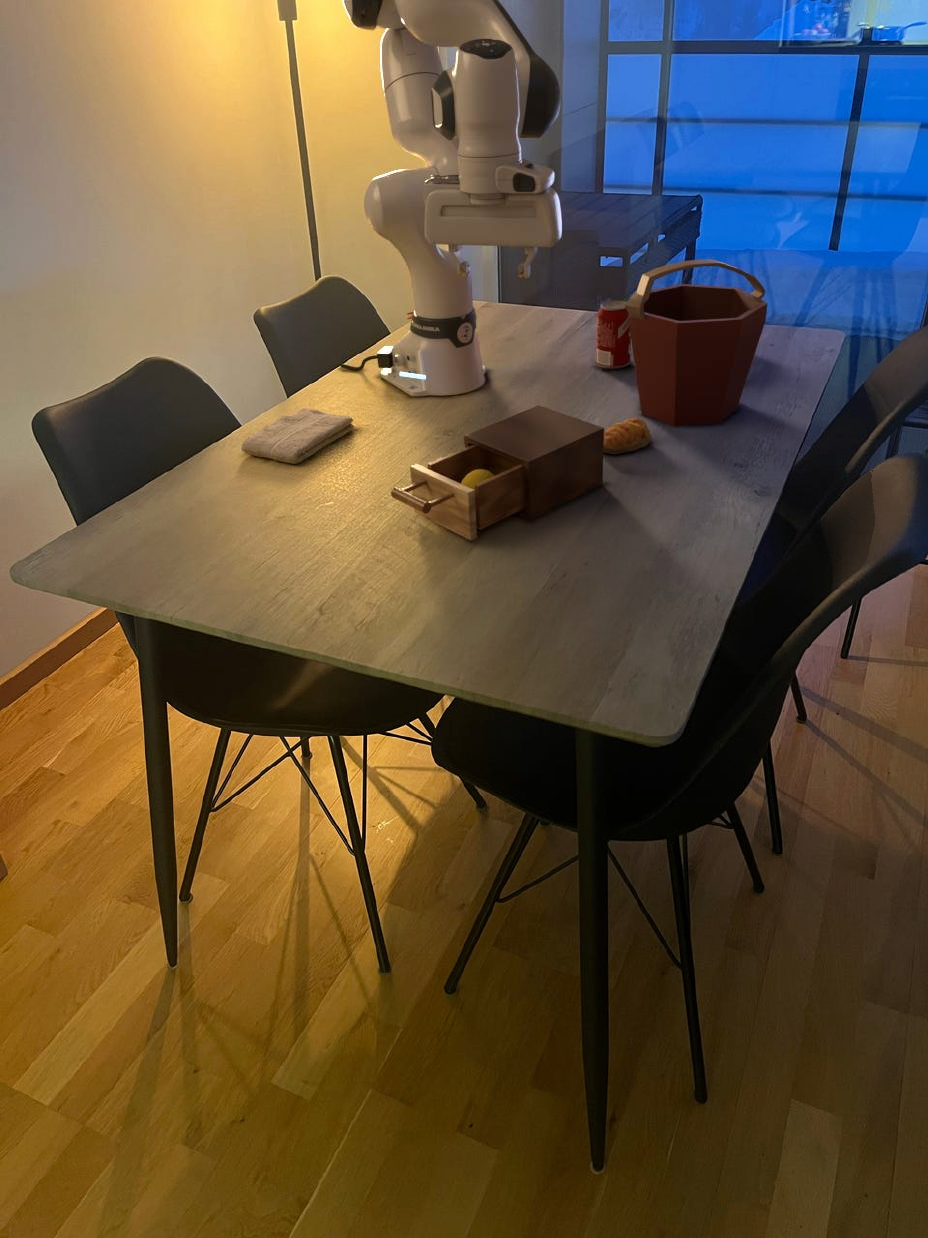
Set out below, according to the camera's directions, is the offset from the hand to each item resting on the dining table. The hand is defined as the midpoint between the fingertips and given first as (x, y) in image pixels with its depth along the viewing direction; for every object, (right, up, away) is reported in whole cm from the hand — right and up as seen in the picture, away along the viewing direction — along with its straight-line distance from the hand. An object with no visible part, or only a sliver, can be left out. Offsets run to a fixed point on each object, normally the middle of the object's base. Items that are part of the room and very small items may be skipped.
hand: (493, 275), depth 140 cm
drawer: (-4, -36, -3) cm, 36 cm away
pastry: (+22, -22, +16) cm, 36 cm away
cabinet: (+7, -31, +5) cm, 32 cm away
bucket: (+35, -13, +29) cm, 47 cm away
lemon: (-1, -30, -2) cm, 30 cm away
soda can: (+25, 0, +48) cm, 55 cm away
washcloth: (-33, -20, +25) cm, 46 cm away
